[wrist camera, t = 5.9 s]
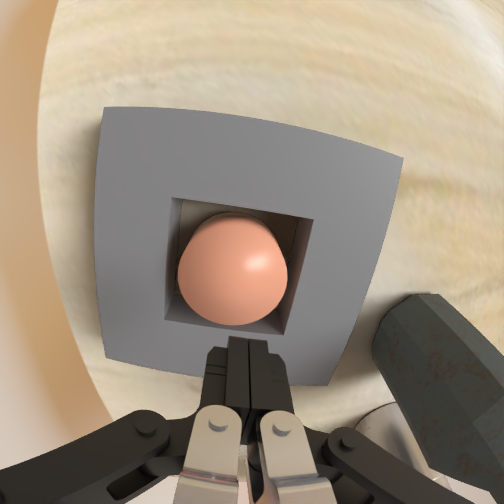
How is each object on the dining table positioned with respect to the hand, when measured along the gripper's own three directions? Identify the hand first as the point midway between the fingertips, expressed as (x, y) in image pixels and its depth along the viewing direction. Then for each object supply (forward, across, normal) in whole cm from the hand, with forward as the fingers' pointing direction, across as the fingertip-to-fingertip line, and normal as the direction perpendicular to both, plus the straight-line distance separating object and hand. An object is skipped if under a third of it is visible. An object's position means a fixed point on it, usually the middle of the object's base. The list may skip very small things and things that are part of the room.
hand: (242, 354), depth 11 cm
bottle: (+13, -19, +6) cm, 24 cm away
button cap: (+11, +1, 0) cm, 11 cm away
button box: (+12, +1, 0) cm, 12 cm away
